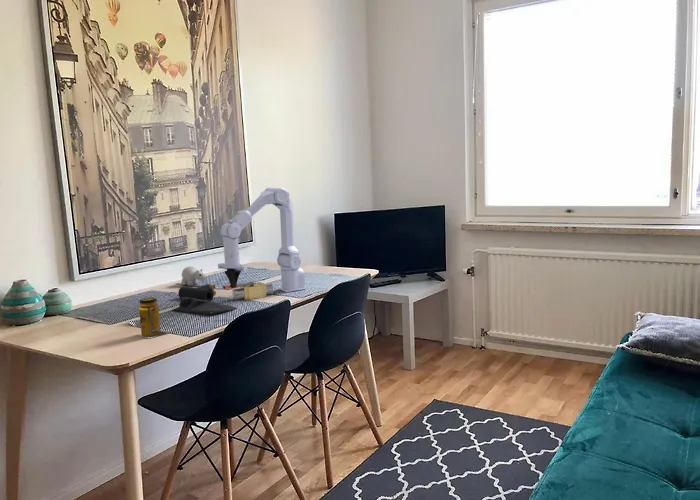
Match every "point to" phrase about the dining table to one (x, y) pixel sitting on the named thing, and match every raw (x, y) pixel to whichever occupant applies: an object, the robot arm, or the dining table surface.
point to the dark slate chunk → (202, 306)
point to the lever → (240, 285)
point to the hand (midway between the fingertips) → (233, 287)
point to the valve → (252, 291)
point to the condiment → (150, 318)
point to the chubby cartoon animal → (192, 276)
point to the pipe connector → (198, 292)
